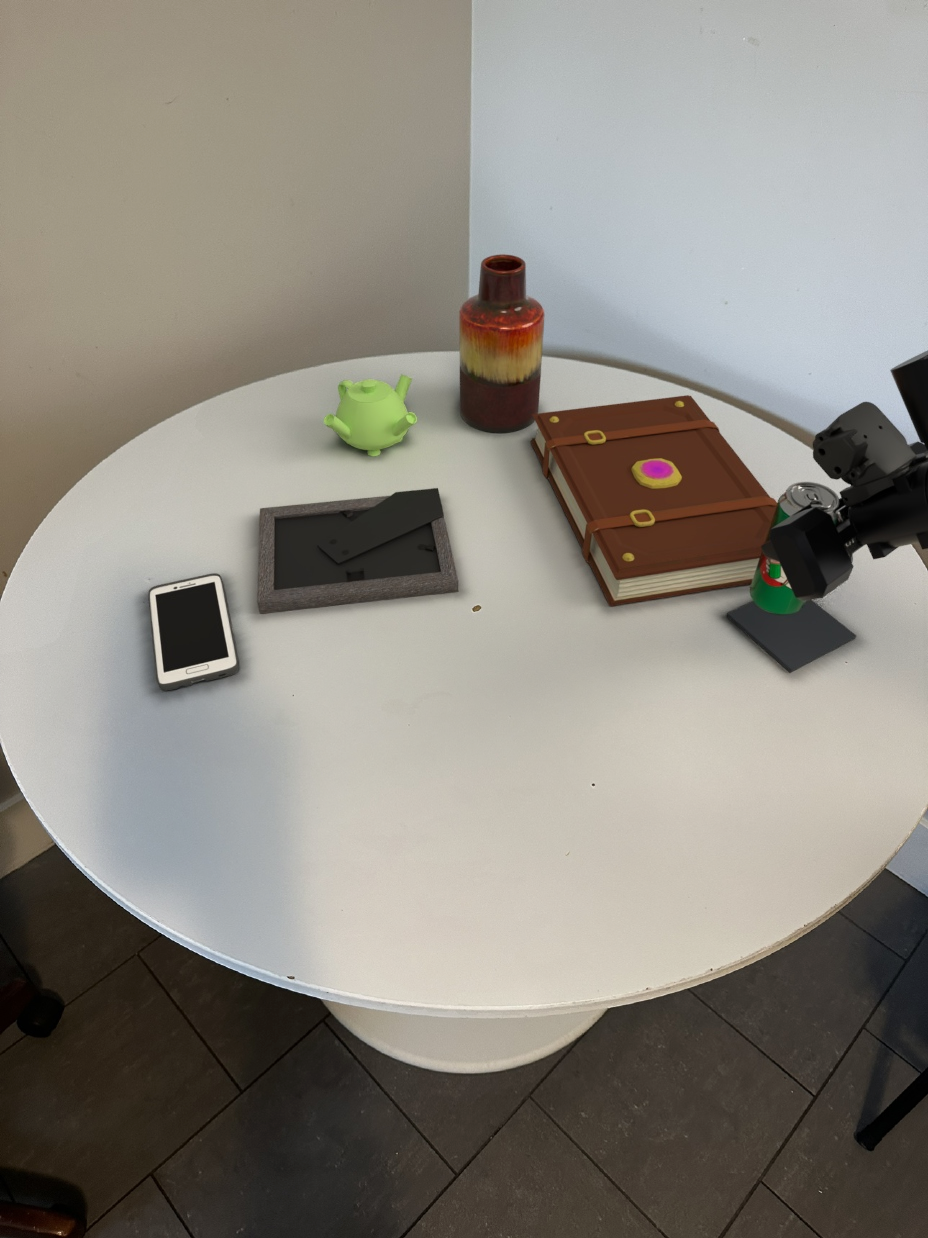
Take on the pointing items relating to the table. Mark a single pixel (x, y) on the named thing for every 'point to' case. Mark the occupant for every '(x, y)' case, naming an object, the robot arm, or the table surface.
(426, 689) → the table surface
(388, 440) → the teapot
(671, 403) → the book
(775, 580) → the soda can
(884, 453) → the robot arm
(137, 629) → the table surface
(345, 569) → the picture frame
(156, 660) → the cell phone
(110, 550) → the table surface
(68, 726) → the table surface
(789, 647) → the coaster mat
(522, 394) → the vase
